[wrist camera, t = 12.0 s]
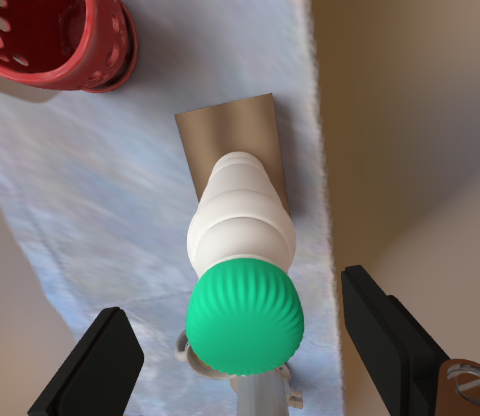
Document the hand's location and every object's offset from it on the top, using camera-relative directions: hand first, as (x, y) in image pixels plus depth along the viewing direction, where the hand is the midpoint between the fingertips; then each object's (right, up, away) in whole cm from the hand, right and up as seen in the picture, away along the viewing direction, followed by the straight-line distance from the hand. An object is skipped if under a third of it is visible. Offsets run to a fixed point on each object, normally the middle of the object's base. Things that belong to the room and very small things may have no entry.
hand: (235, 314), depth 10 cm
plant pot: (-18, +26, +20) cm, 37 cm away
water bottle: (0, +9, +22) cm, 24 cm away
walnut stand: (0, +10, +26) cm, 28 cm away
